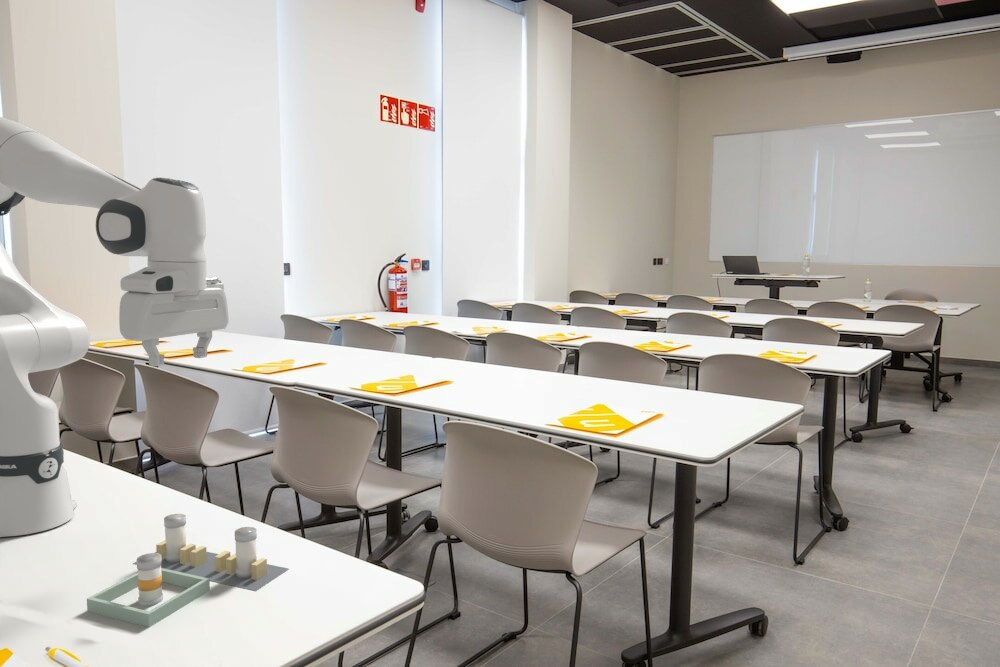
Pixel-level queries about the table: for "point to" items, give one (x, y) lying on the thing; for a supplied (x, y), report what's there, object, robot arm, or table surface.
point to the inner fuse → (174, 536)
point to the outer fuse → (245, 550)
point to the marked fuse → (149, 579)
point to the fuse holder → (219, 567)
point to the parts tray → (149, 618)
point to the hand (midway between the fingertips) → (179, 361)
